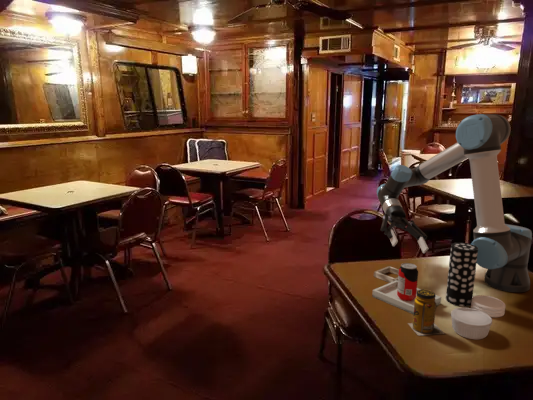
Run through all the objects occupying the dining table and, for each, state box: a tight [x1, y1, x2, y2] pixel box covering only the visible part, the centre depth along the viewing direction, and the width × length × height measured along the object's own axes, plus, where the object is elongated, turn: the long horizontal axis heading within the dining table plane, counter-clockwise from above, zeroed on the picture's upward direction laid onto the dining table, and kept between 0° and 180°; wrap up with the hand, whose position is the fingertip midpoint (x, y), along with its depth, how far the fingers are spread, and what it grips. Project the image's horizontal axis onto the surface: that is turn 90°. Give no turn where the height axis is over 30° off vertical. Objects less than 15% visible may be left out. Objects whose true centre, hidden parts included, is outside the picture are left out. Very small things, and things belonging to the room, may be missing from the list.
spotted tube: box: [445, 242, 478, 307], centre depth 142 cm, size 8×8×20 cm
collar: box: [373, 265, 399, 283], centre depth 164 cm, size 10×10×2 cm
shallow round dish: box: [470, 294, 506, 318], centre depth 137 cm, size 10×10×4 cm
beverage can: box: [397, 262, 419, 301], centre depth 143 cm, size 6×6×12 cm
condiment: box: [407, 288, 446, 336], centre depth 125 cm, size 7×8×12 cm
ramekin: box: [450, 307, 493, 340], centre depth 124 cm, size 11×11×5 cm
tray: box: [371, 280, 442, 315], centre depth 144 cm, size 18×14×2 cm
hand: (410, 247), depth 157 cm, fingers open, 13 cm apart
